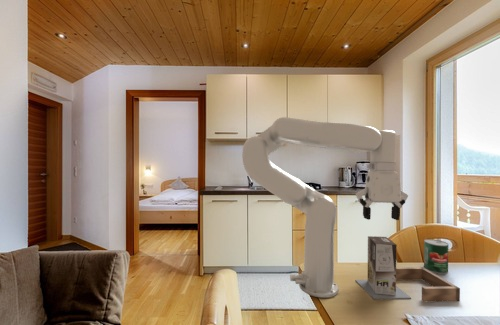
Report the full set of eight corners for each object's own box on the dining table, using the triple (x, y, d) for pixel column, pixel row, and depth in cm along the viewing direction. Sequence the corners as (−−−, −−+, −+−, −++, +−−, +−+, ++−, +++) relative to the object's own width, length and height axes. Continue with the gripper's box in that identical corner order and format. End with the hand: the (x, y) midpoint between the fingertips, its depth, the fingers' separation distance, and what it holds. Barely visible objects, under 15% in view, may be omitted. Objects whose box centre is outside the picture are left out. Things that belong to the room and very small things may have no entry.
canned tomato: (437, 274, 95) (437, 246, 95) (418, 266, 103) (419, 239, 103) (453, 272, 97) (453, 244, 97) (434, 264, 105) (434, 238, 105)
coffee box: (396, 296, 79) (397, 244, 79) (374, 294, 80) (375, 243, 80) (386, 282, 88) (387, 236, 88) (366, 280, 89) (367, 235, 89)
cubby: (424, 301, 76) (424, 288, 76) (393, 278, 92) (393, 267, 92) (459, 301, 77) (459, 288, 77) (422, 278, 92) (423, 267, 92)
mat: (373, 299, 77) (373, 297, 77) (355, 280, 89) (355, 279, 89) (411, 298, 78) (411, 297, 78) (388, 280, 90) (388, 279, 90)
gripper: (362, 167, 80) (361, 221, 80) (415, 168, 80) (414, 222, 80) (352, 166, 87) (350, 216, 87) (400, 168, 88) (399, 217, 88)
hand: (381, 218), depth 84 cm, fingers open, 9 cm apart
